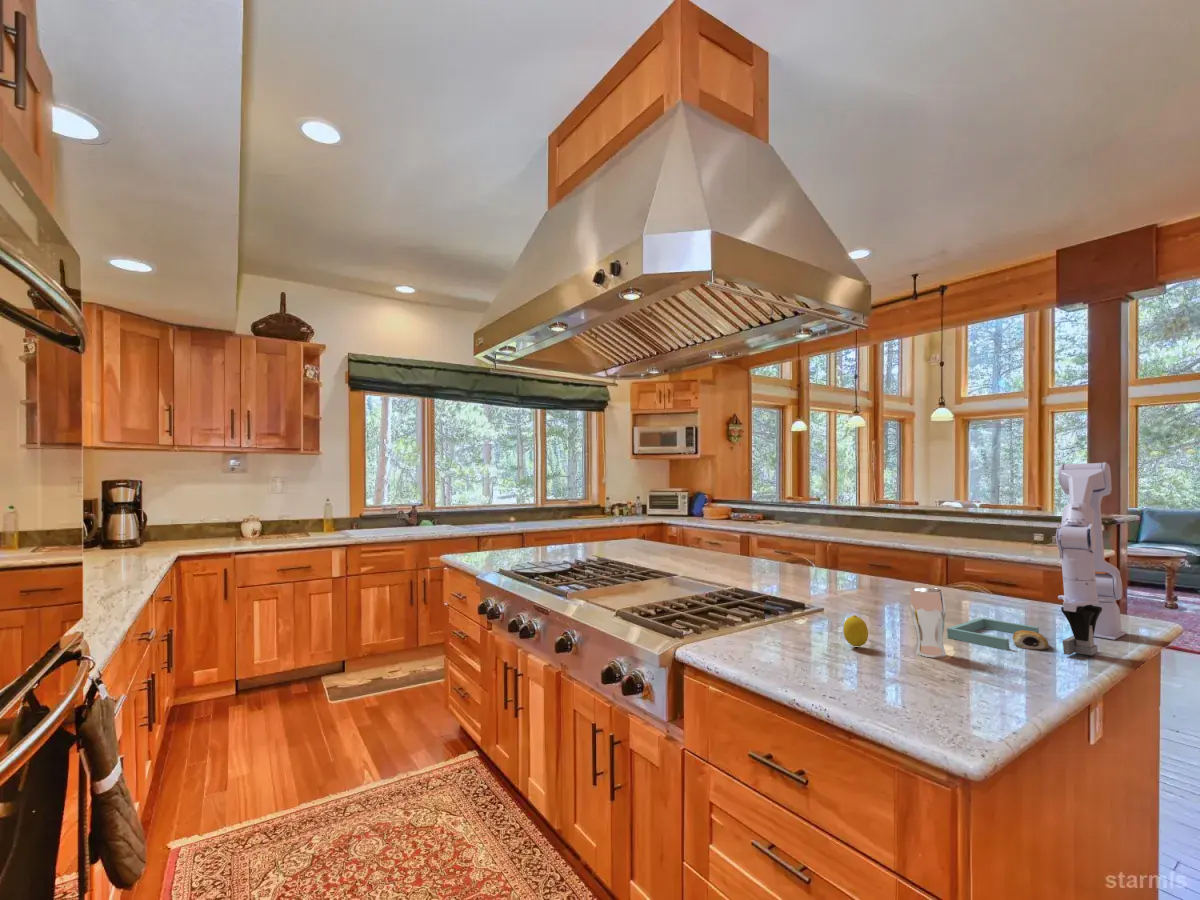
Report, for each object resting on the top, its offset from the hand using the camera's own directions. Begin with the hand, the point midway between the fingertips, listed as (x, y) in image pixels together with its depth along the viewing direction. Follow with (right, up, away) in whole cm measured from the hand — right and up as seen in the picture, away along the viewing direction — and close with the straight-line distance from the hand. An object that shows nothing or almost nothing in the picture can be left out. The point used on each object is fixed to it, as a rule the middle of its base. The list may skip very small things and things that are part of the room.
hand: (1084, 639), depth 125 cm
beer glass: (-33, -5, +3) cm, 34 cm away
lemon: (-48, -6, +10) cm, 49 cm away
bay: (-9, -5, +15) cm, 18 cm away
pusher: (0, -3, 0) cm, 3 cm away
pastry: (-6, -5, +8) cm, 11 cm away
